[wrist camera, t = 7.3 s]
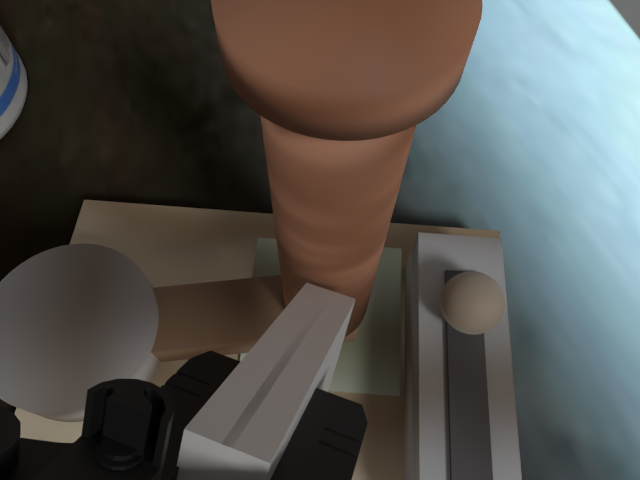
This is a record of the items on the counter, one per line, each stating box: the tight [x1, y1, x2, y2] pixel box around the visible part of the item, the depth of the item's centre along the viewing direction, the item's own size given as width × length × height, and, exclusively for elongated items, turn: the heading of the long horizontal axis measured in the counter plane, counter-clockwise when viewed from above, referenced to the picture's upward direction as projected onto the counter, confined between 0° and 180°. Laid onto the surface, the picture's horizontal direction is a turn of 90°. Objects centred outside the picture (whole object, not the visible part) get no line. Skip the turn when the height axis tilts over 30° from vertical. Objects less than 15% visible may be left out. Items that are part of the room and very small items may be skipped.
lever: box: [0, 0, 482, 422], centre depth 14 cm, size 14×6×14 cm, turn 97°
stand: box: [15, 200, 522, 480], centre depth 19 cm, size 14×18×7 cm
